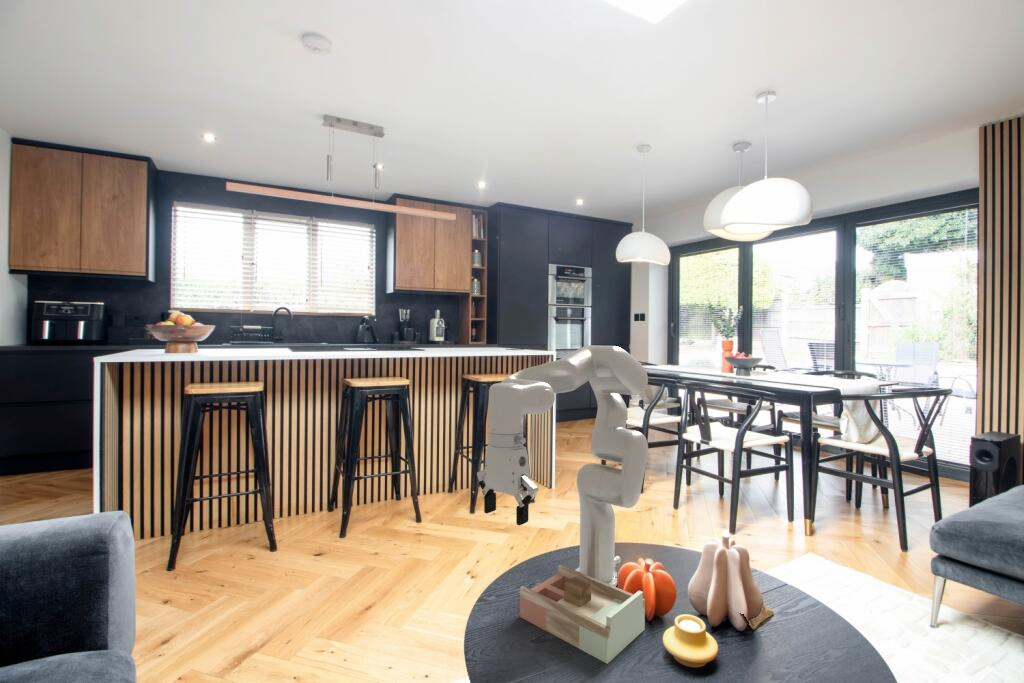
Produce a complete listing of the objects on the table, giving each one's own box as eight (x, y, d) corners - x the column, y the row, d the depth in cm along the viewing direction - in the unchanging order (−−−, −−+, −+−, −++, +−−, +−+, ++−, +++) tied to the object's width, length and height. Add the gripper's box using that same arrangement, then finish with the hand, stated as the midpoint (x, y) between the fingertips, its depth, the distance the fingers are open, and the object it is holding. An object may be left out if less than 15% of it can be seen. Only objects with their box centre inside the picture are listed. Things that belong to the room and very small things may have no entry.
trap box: (560, 591, 126) (560, 556, 126) (644, 629, 110) (645, 590, 110) (519, 616, 114) (520, 578, 114) (607, 663, 98) (608, 620, 98)
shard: (753, 633, 110) (753, 625, 110) (721, 617, 116) (721, 609, 116) (775, 616, 116) (775, 609, 116) (744, 602, 122) (744, 595, 122)
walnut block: (575, 592, 116) (575, 576, 116) (591, 599, 113) (591, 582, 113) (564, 600, 112) (564, 583, 112) (580, 607, 109) (580, 590, 109)
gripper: (547, 443, 102) (547, 523, 102) (490, 431, 114) (490, 503, 114) (524, 449, 96) (524, 533, 97) (466, 436, 108) (466, 512, 108)
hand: (505, 517), depth 105 cm, fingers open, 9 cm apart
